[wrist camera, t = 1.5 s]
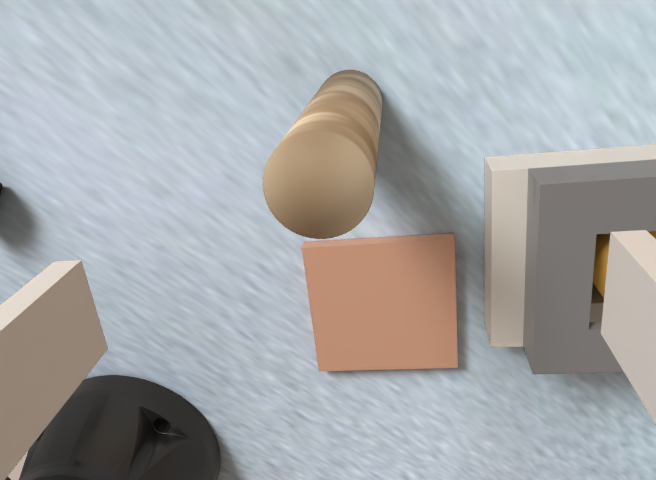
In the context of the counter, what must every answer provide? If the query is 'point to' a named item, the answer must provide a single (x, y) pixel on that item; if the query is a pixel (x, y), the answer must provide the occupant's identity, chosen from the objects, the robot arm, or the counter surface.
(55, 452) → the robot arm
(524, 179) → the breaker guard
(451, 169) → the counter surface
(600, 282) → the button
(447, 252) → the rest tile
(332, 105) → the wooden cylinder
